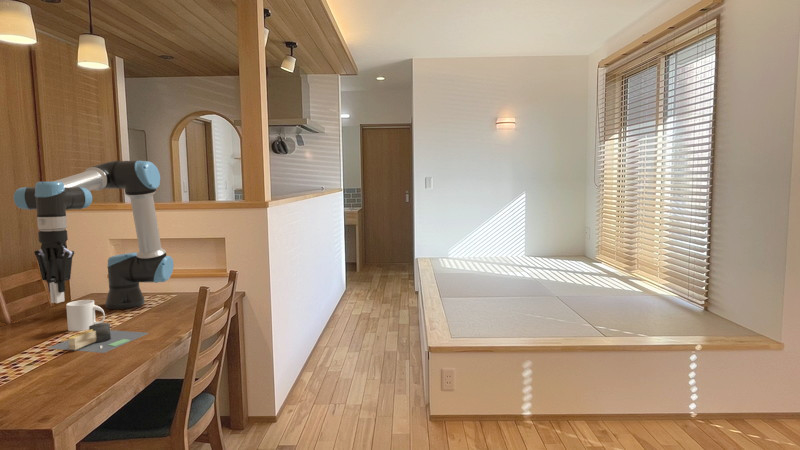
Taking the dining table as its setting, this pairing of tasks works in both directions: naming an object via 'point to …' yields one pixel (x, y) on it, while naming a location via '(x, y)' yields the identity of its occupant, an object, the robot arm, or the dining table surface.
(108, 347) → the gauge board
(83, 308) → the mug
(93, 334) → the dial lever
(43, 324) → the dining table surface
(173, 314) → the dining table surface
